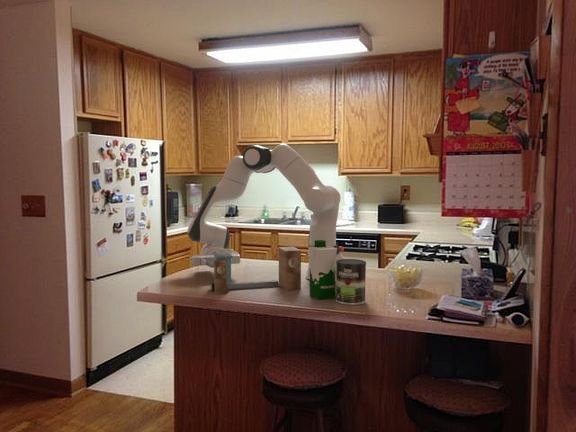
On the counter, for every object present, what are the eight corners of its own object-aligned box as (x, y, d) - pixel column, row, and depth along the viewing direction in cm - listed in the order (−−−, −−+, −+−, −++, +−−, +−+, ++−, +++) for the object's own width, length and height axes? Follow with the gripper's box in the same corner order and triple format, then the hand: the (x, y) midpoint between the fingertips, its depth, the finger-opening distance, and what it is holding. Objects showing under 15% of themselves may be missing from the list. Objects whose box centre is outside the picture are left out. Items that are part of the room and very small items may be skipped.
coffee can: (362, 306, 165) (362, 264, 163) (332, 303, 168) (332, 262, 167) (368, 299, 174) (368, 259, 173) (339, 296, 178) (340, 258, 177)
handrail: (276, 284, 196) (276, 277, 196) (278, 286, 193) (278, 279, 193) (210, 289, 189) (210, 281, 188) (212, 291, 185) (211, 283, 185)
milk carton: (327, 292, 184) (327, 239, 182) (339, 298, 175) (339, 242, 174) (306, 294, 180) (306, 240, 178) (317, 300, 172) (317, 244, 170)
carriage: (229, 281, 192) (229, 253, 191) (232, 284, 186) (232, 255, 185) (214, 282, 190) (214, 254, 189) (216, 285, 184) (216, 256, 183)
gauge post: (224, 291, 186) (224, 259, 184) (227, 294, 181) (226, 261, 180) (214, 291, 184) (213, 260, 183) (216, 294, 180) (215, 262, 179)
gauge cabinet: (293, 283, 199) (293, 246, 197) (301, 289, 188) (301, 250, 187) (278, 284, 197) (278, 247, 195) (286, 290, 186) (286, 251, 185)
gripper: (189, 250, 209) (192, 256, 196) (236, 248, 215) (242, 253, 202) (189, 265, 210) (192, 271, 196) (236, 263, 216) (243, 269, 202)
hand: (218, 262), depth 199 cm, fingers open, 8 cm apart
